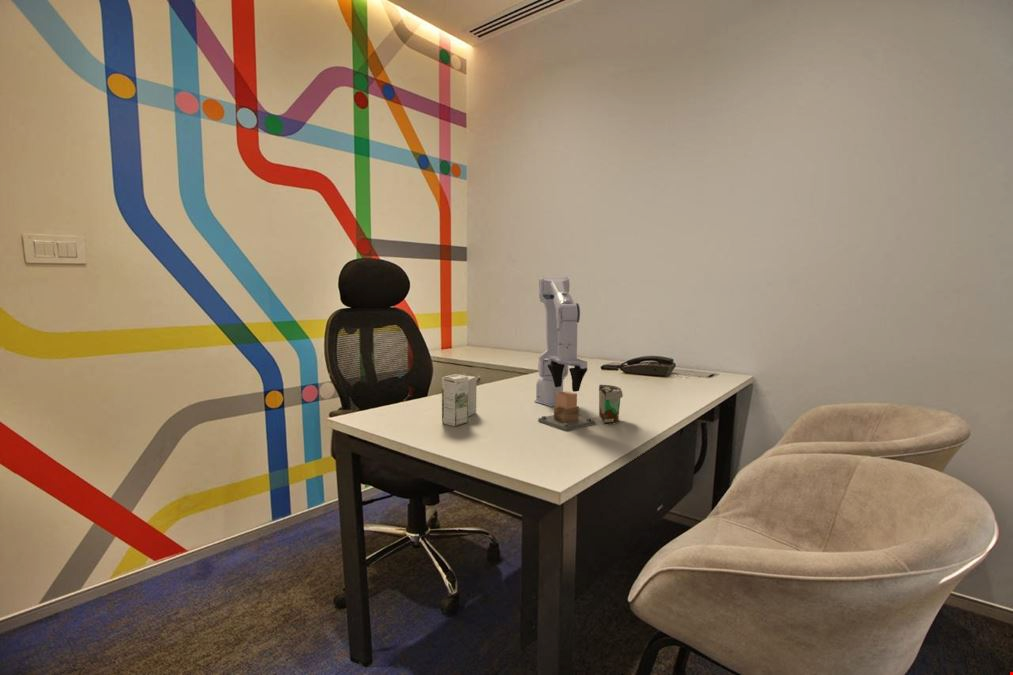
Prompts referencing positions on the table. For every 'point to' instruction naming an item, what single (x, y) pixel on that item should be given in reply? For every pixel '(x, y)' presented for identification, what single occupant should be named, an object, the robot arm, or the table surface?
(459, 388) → the syrup box
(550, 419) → the base plate
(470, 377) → the skincare box
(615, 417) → the food container
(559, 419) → the walnut brick
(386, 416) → the table surface
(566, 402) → the terracotta block
